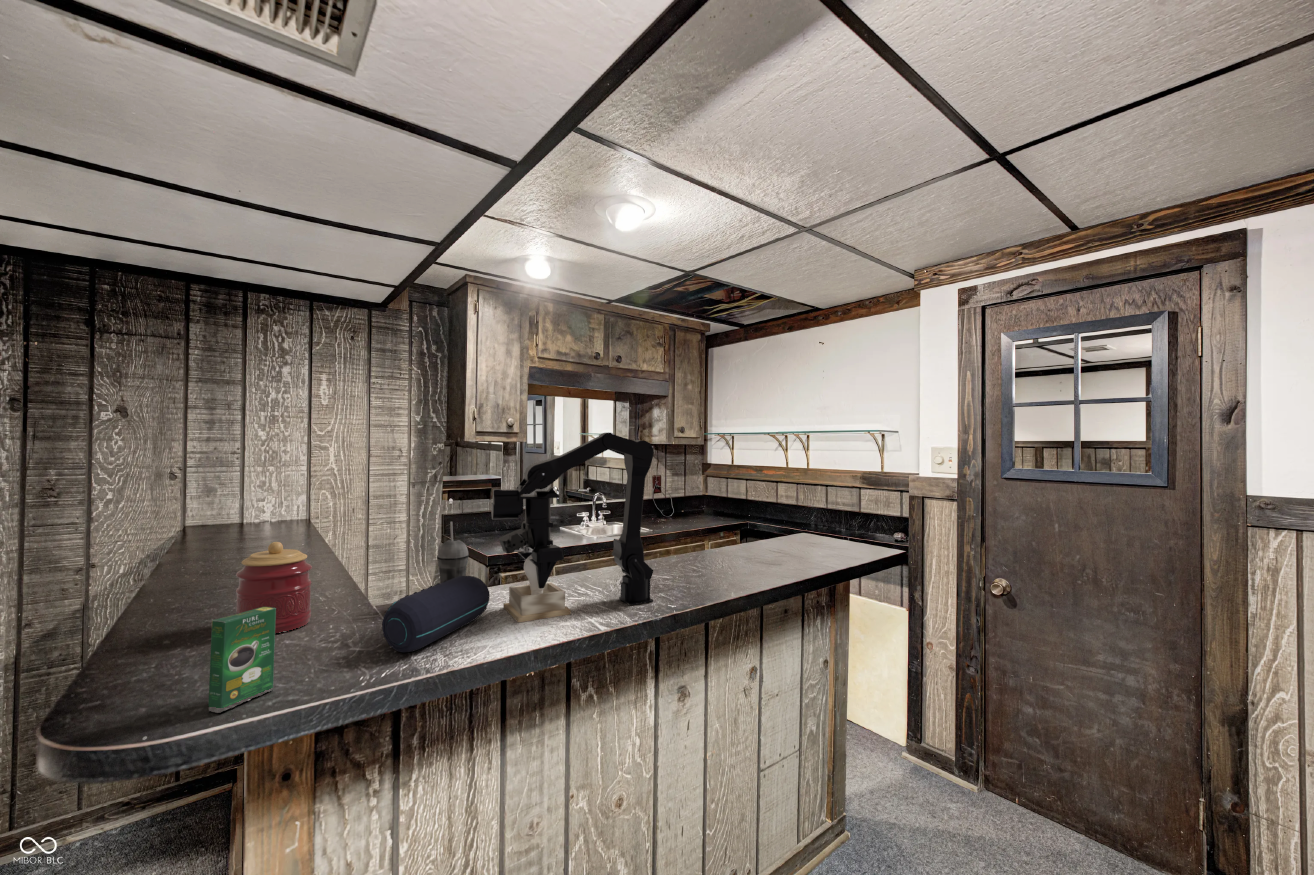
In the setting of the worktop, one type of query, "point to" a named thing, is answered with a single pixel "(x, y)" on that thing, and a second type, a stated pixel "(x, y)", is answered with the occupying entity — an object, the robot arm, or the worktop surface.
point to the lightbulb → (532, 576)
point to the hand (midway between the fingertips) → (537, 585)
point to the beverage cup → (452, 558)
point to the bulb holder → (536, 603)
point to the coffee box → (241, 656)
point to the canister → (276, 585)
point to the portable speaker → (434, 612)
